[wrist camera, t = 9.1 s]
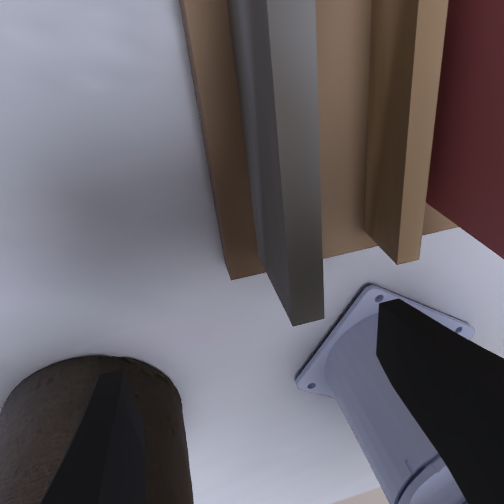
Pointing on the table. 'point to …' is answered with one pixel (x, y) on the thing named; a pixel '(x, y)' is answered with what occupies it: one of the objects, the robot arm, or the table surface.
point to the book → (471, 123)
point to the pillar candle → (66, 422)
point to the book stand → (316, 132)
